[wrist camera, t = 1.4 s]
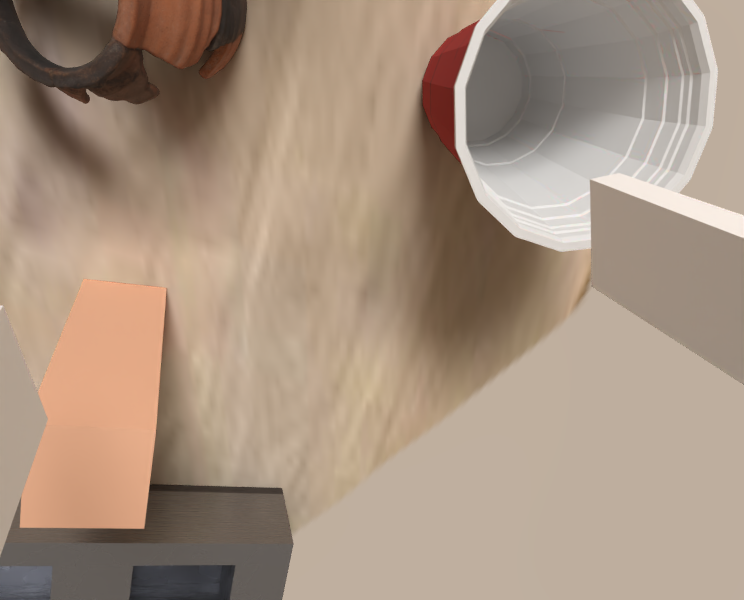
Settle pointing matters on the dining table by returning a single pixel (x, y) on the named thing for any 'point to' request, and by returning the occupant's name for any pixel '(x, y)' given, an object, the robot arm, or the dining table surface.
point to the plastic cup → (572, 105)
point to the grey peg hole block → (159, 551)
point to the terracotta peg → (99, 412)
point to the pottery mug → (135, 46)
